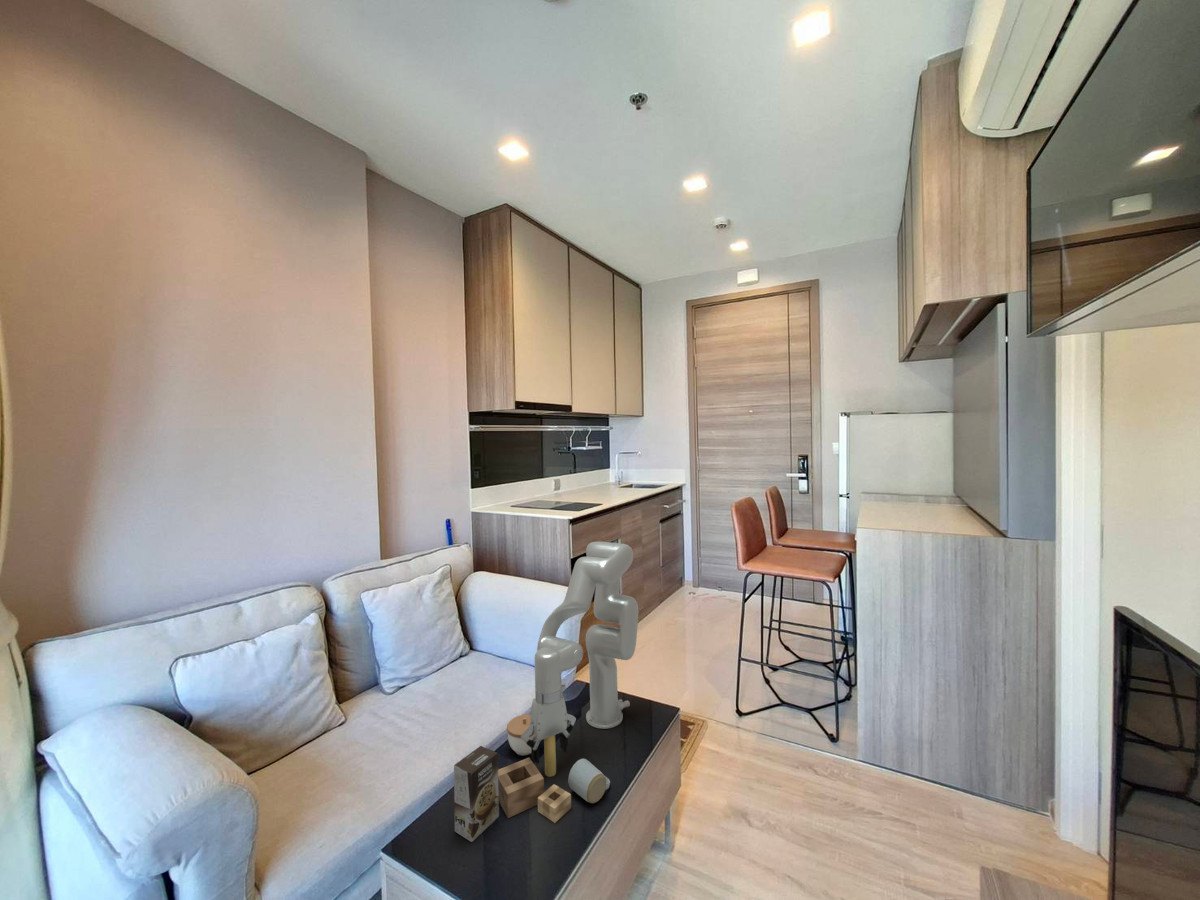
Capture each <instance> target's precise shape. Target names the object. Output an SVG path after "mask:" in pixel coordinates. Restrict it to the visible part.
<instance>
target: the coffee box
mask: <svg viewBox="0 0 1200 900" xmlns="http://www.w3.org/2000/svg"><path fill="white" fill-rule="evenodd" d="M498 754H499V753H498V752H497V751H496V750H495V751H494V750H492V749H490V748H488V747H485V746H482V745H479V746H478V747H477V748H476V749H474V750H473V751H471V752H470V753H469V754H468V755H466V756H464V757H463V758H462V759H461V760H459V761H458V762H456V763H455V764H454V765H453V771H454V772H453V773H454V774H453V777H454V778H453V782H454V784H453V785H454V788H453V789H454V792H453V793H454V794H453V795H454V802H453V803H454V833H457V834H458V835H459V836H461V837H463V838H464V839H466V840H468V841H469V842H471V843H472V842H474V841H476V839H477V838H478V837H480V835H481V834H482V833H483V832H484V831H486V829H488V828H489V827H490V825H492V824H493V823H494V822H495V821H496V820H497V819H499V816H500V808H499V807H500V805H499V804H500V802H499V796H498V770H499V761H498V758H499V755H498Z"/></svg>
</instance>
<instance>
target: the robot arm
mask: <svg viewBox="0 0 1200 900" xmlns="http://www.w3.org/2000/svg"><path fill="white" fill-rule="evenodd" d="M585 553H586V556H581V557H579V558H578V559H577V560H576V561H575V563H574V567H573V569H572V573H571V576H570V579H569V583H568V587H567V590H566V593H565V597H564V600H563V602H562V603H561V604H560V605H559V606H557V607H556V608H555V609H554V610H553V611H552V612H551V614H549V616H548V617H547V619H546V620H545V622H544V623H543V625H542V629H541V631H540V634H539V638H538V642H537V647H536V652H535V654H534V684H535V685H534V687H535V689H534V690H535V691H534V692H535V698H533V699H532V703H531V707H530V714H531V716H530V726H529V728H528V729H527V730H526V731H525V732H524V733H523V734H522V735H521V738H522V739H523V740H524V741H525V743H526V744H527V745H528V746H529V747H531V754H530V755H531V760H533V761H534V762H535V764H536V765H538V764H540V749H539V745H540V743H541V741H542V740H544V739H545V738H548V737H550V736H553V735H555V736H556V735H558V734H559V747H560V749H561V750H562V751H563V752H564V753H567V752H568V746H569V737H570V733H571V731H572V730H573V729H574V725H575V723H576V720H577V718H576V717H575V716H574V715H572V714H570V713H568V711H567V706H566V700H565V698H564V697H565V695H564V694H563V691H564V690H566V689H567V687H566V684H562V673H564V672H566V671H569V670H571V669H574V668H575V667H577V666H579V664H580V663H581V662H582V660H583V657H584V649H583V647H582V645H581V643H579V642H577V641H575V640H574V641H573V640H570V639H566V638H563V637H562V638H561V637H557V634H558V631H559V630H560V627H561V625H563V623H565V622H566V621H567V620H569V619H570V618H572V617H575V616H578V615H580V614H584V613H587V612H588V611H589V610H590V609H591V605H592V601H593V600H594V601H593V615H594V617H595V619H597V620H600V621H603V622H607V623H611V624H612V623H614V624H618V625H619V627H615V626H612V625H607V624H599V623H598V624H594V625H591V626H590V627H589V628H587V630H586V634H585V647H586V650H587V656H588V665H589V666H588V667H589V668H588V669H589V671H588V672H589V673H588V674H589V698H590V699H589V703H590V704H589V706H590V707H589V709H588V711H587V712H586V714H585V719H586V723H587V724H588V725H589V726H590V727H593V728H596V729H600V730H602V729H604V730H605V729H612V728H615V727H617V726H619V725H620V724H621V723H622V721H623V718H624V717H623V712H622V711H623V709H625V708H628V707H630V706H631V704H630V701H629V700H624V701H623V699H622V698H618V697H619V694H618V667H617V662H616V659H617V660H621V661H622V660H623V661H628V660H631V659H632V658H633V656H634V654H635V651H636V647H637V638H638V636H637V635H638V626H639V613H640V611H639V605H638V601H636V598H634V597H633V596H631V595H627V594H626V595H625V594H621V592H620V591H621V590H620V589H621V588H620V587H621V577H622V576H624V574H625V573H626V572H627V571H628V570H629V568H630V567H631V566H632V563H633V561H634V551H633V549H632V547H631V546H630V545H628V544H626V543H619V542H611V541H610V542H609V541H592V542H589V543H588V544H587V546H586V549H585ZM593 597H594V599H593ZM531 734H534V735H533V737H532V739H531V740H530V739H529V736H530V735H531Z"/></svg>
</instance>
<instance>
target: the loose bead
mask: <svg viewBox="0 0 1200 900" xmlns="http://www.w3.org/2000/svg"><path fill="white" fill-rule="evenodd" d="M571 809H572V794H571V793H570V792H569V791H567V790H565V789H563V788H561V787H560V786H559V785H556V784H552V785H551V786H549V788H548V789H546V790H544V793H543V794H542V795H540V796H539V797H538V805H537V813H539V814H541V815H542V816H544V817H545V818H547V819H548V820H549V821H551V822H552V823H554V824H556V823H557V822H559V820H560V819H561V818H562V817H564V815H566V814H567V813H568V812H569V811H570V810H571Z"/></svg>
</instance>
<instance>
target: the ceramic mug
mask: <svg viewBox="0 0 1200 900" xmlns="http://www.w3.org/2000/svg"><path fill="white" fill-rule="evenodd" d="M567 783H568V785H569V788H570V789H571V790H572V791H573V792H575V793H576V794H577V795H578V796H579V797H581V798H582V799H583V800H585V802H587V803H590V804H595V803H597V802H599V801H600V799H602V797H603V796H604V794H605V791H606V790H608V789H609V788H610V785H611V781H610V779H609V777H607V776H606V775H604V774H603V772H602V771H601V770H600V769H598V768H597V767H596V766H595V765H594V764H592V762H590V761H589V760H588V759H587V758H580V759H578V760H577V761H576V762H575V763H574V764H573V765H572V767H571V768H570V770H569V773H568V779H567Z"/></svg>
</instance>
